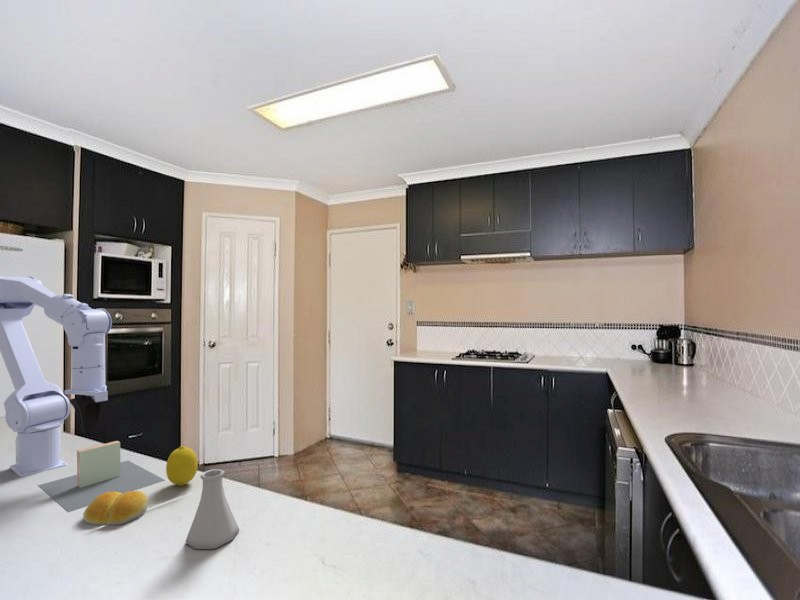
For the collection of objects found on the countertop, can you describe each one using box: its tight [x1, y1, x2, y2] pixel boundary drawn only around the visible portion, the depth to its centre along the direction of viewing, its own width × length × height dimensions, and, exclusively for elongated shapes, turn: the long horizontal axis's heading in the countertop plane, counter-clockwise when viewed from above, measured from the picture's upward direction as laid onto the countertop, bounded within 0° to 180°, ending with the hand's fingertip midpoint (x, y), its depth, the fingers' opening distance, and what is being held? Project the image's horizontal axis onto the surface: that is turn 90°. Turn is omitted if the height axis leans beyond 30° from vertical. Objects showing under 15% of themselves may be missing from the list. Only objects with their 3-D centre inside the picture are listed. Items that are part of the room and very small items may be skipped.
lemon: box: [165, 445, 199, 487], centre depth 84 cm, size 6×6×8 cm
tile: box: [76, 440, 121, 488], centre depth 86 cm, size 2×7×7 cm, turn 143°
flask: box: [185, 468, 240, 550], centre depth 66 cm, size 7×7×10 cm
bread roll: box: [82, 490, 149, 527], centre depth 73 cm, size 8×9×4 cm
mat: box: [37, 460, 165, 513], centre depth 85 cm, size 18×16×1 cm
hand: (89, 431), depth 89 cm, fingers closed
